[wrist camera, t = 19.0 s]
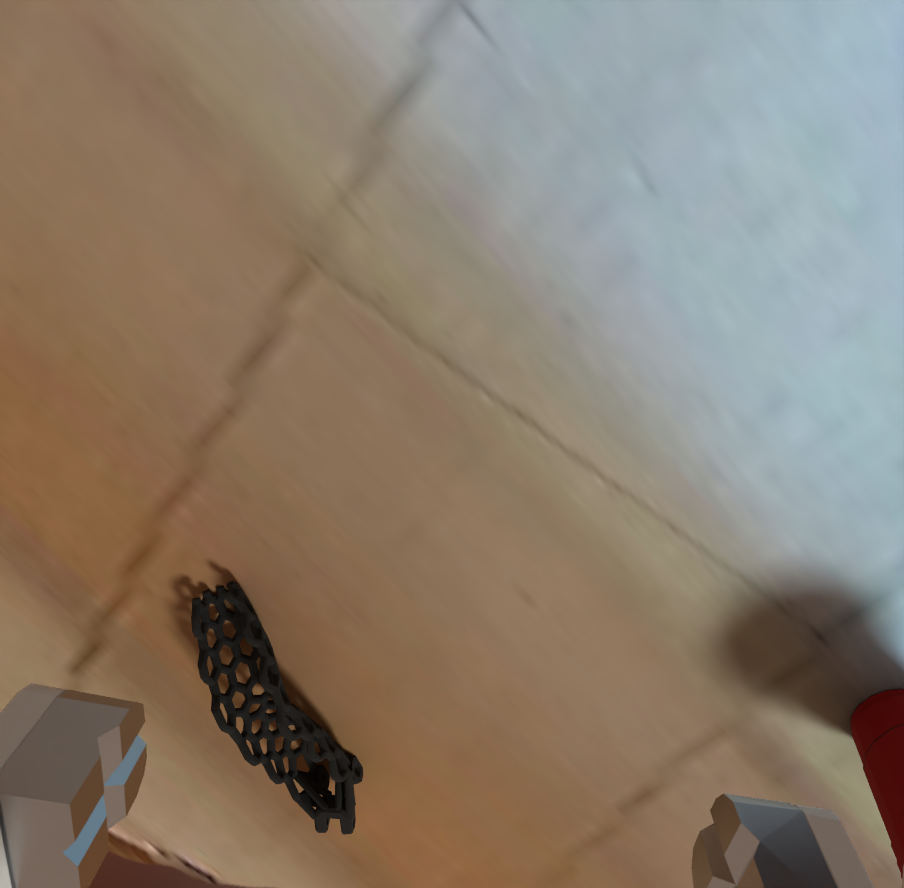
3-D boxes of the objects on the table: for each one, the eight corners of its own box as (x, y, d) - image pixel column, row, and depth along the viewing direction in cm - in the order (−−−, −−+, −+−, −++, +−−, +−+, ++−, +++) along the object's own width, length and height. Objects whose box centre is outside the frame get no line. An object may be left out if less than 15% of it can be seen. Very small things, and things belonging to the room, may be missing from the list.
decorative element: (189, 588, 48) (150, 646, 43) (251, 569, 47) (219, 626, 42) (329, 795, 56) (311, 865, 51) (384, 783, 55) (371, 853, 50)
